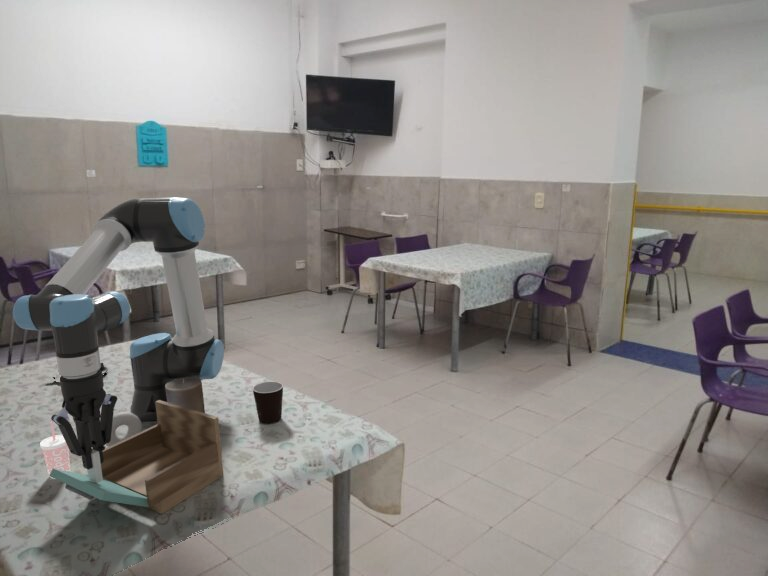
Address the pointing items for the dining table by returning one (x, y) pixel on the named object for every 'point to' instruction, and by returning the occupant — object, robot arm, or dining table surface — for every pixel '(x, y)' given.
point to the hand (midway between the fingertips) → (95, 479)
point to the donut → (124, 419)
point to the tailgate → (98, 488)
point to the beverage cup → (55, 452)
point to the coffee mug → (268, 401)
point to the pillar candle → (186, 393)
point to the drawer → (167, 457)
